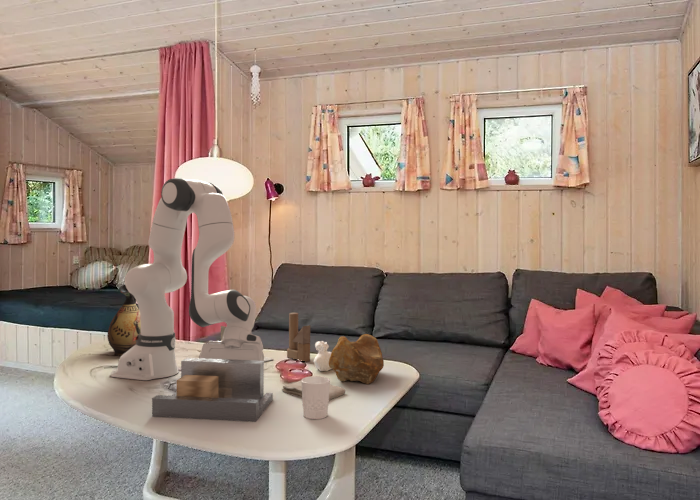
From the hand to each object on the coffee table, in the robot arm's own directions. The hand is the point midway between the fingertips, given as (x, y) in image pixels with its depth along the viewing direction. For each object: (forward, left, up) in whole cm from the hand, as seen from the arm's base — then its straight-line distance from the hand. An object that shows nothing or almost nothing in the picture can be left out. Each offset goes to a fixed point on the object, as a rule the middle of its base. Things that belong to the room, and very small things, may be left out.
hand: (225, 380), depth 166 cm
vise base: (0, -9, -5) cm, 10 cm away
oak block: (-5, -11, -6) cm, 13 cm away
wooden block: (+12, +52, -6) cm, 53 cm away
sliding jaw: (0, -3, -5) cm, 6 cm away
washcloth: (+25, +9, -6) cm, 28 cm away
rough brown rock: (+39, +27, -6) cm, 48 cm away
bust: (+24, +39, -6) cm, 46 cm away
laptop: (-8, +49, -6) cm, 50 cm away
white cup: (+29, -11, -6) cm, 32 cm away
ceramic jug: (-58, +52, -6) cm, 78 cm away
